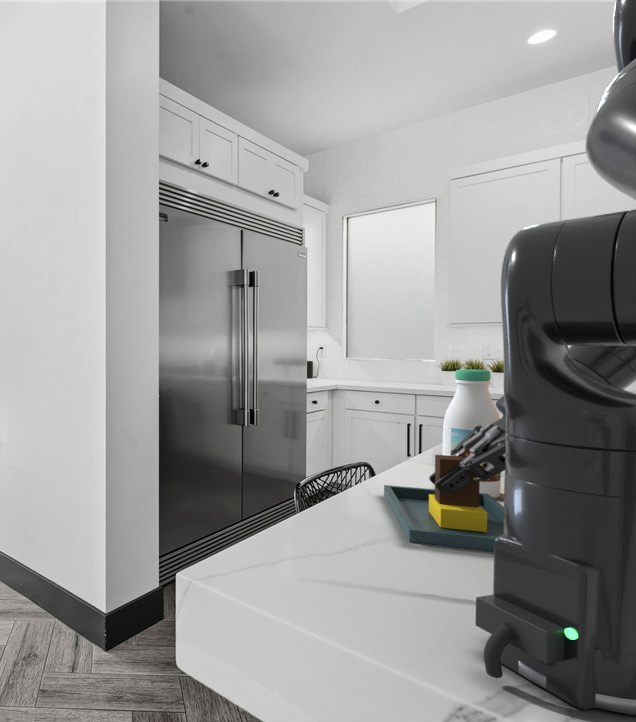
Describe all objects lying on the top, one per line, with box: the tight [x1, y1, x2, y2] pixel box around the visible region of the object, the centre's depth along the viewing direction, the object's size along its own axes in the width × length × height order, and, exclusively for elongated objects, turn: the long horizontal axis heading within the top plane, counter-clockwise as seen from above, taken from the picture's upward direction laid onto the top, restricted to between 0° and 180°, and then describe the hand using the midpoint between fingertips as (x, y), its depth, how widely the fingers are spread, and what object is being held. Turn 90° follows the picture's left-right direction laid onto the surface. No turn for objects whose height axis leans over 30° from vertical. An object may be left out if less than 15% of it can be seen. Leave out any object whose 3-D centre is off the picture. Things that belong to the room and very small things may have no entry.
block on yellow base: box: [429, 454, 487, 532], centre depth 70 cm, size 7×5×8 cm
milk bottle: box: [441, 369, 502, 499], centre depth 85 cm, size 8×8×20 cm
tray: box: [383, 484, 504, 553], centre depth 71 cm, size 22×14×2 cm, turn 159°
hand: (437, 487), depth 71 cm, fingers closed on block on yellow base, 3 cm apart
